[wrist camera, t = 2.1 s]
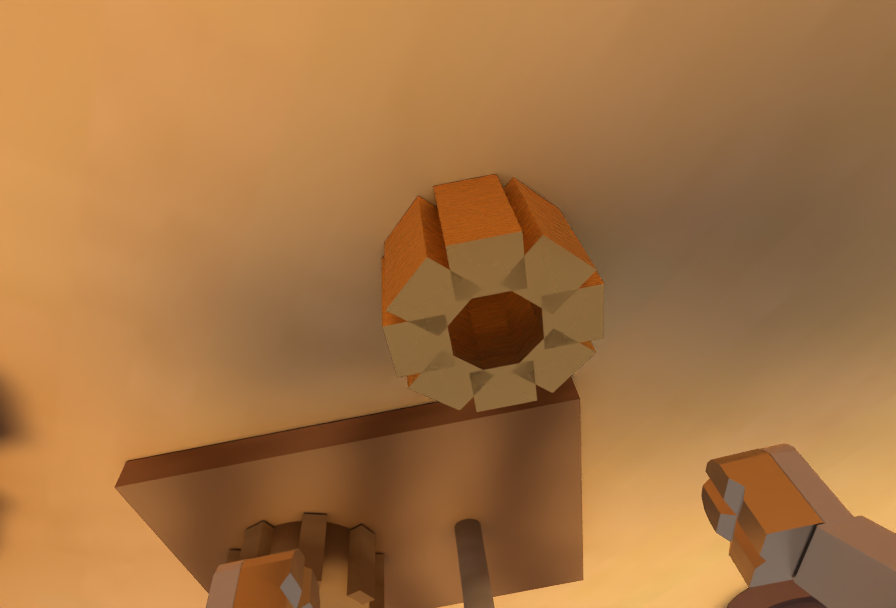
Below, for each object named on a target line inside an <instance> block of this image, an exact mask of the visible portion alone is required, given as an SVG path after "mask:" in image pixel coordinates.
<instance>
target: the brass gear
mask: <svg viewBox="0 0 896 608" xmlns="http://www.w3.org/2000/svg"><path fill="white" fill-rule="evenodd" d="M433 187H434V193H435V198H436V203H437V207H435V206H434V205H432V204H431V203H429V202H427V201H426V200H424V199H422V198H421V197H419V196H418V197H417V198H416V200H415V201H414V202H413V204H412V205H411V207H410V208H409V209H408V211H407V212H406V213H405V215H404V216H403V218H402V219H401V220H400V222H399V223H398V225H397V226H396V227H395V229H394V230H393V232H392V233H391V234H390V236H389V237H388V239H387V240H386V241H385V243H384V249H385V257H382V328H383V331H384V334H385V338H386V341H387V344H388V348H389V351H390V354H391V358H392V361H393V364H394V368H395V371H396V374H397V377H402V376H407V380H408V388H409V389H411V390H413V391H416V392H418V393H420V394H423V395H425V396H427V397H429V398H432V399H434V400H436V401H439V402H441V403H443V404H446V405H448V406H450V407H453V408H455V409H457V410H461V409H462V408H463V407H464V406H465V405H466V404H467V403H468V402H469V401H470V400H471V399H472V398H473V397H474V401H475V406H476V411H477V412H480V411H485V410H490V409H496V408H501V407H506V406H511V405H517V404H522V403H527V402H532V401H537V394H536V385H538V386H540V387H542V388H544V389H546V390H548V391H550V392H552V393H553V392H554V391H555V390H556V389H557V388H558V387H560V386H561V385H562V384H563V383H564V382H565V381H566V380H567V379H568V378H569V377H570V376H571V375H572V374H573V373H574V372H576V371H577V370H578V369H579V368H580V367H581V366H582V365H583V364H584V363H585V362H586V361H587V360H588V359H589V358H590V357H592V356H593V355H594V354H595V353H596V351H595V349H594V347H593V345H592V343H591V341H590V340H595V339H601V338H603V326H604V283H603V281H602V279H601V278H600V276H599V275H598V273H597V271H596V268H595V266H594V265H593V263H592V261H591V260H590V258H589V257H588V255H587V253H586V252H585V250H584V249H583V247H582V245H581V244H580V242H579V241H578V239H577V237H576V236H575V234H574V232H573V231H572V229H571V228H570V226H569V224H568V223H567V221H566V220H565V218H564V216H563V215H562V213H561V212H560V210H559V209H558V208H557V207H555V206H554V205H552V204H551V203H549V202H548V201H547V200H545V199H544V198H542V197H541V196H539V195H538V194H536V193H535V192H534V191H532V190H531V189H529V188H528V187H526V186H525V185H523V184H522V183H521V182H519V181H518V180H516V179H515V178H512V180H511V181H510V182H509V183H508V185H507V186H506V187H505V188H504V190H503V188H502V186H501V184H500V182H499V179H498V177H497V175H496V174H494V175H489V176H484V177H479V178H473V179H468V180H463V181H458V182H453V183H448V184H443V185H437V186H433Z"/></svg>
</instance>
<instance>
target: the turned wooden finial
mask: <svg viewBox="0 0 896 608" xmlns="http://www.w3.org/2000/svg"><path fill="white" fill-rule="evenodd" d="M727 608H827V607H826V606H825V605H823V604H822V603H821V602H819V601H818V600H817V599H816V598H814V597H813V596H812V595H810V594H809V593H808V592H806V591H805V590H804V589H802V588H801V587H800V586H798V585H797V584H796V583H794V579H792V580H787V581H782V582H777V583H771V584H766V585H761V586H755V587H751V588H749V589H747V590H745V591H744V592H742V593H741V594H739V595H738V596H736V597H735V598H734V599H733V600H732V601H731V602H730V603H729V605H728V607H727Z"/></svg>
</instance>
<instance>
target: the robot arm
mask: <svg viewBox="0 0 896 608" xmlns="http://www.w3.org/2000/svg"><path fill="white" fill-rule="evenodd" d="M706 473H707V474H708V476H709V477H710V479H709V480H708V481H707V482H706V483H705V484H704V485H703V488H702V500H703V505H704V510H705V512H706V514H707V517H708V519H709V521H710V523H711V525H712V526H713V528H714V530H715V531H716V533H718V534H719V535H721V536H722V537H724V538H726V539H727V540H729V541H730V549H729V555H730V557H731V558H732V560H733V562H734V563H735V565H736V567H737V568H738V570H739V572H740V573H741V575H742V577H743V578H744V580H745V582H746V583H747V585H748V587H749V588H750V587H755V586H761V585H766V584H771V583H777V582H782V581H787V580H792V579H794V583H796V584H797V585H798V586H800V587H801V588H802V589H804V590H805V591H806V592H808V593H809V594H810V595H812V596H813V597H814V598H816V599H817V600H818V601H819V602H821V603H822V604H823V605H825V606H826V607H827V608H896V534H895V533H894V532H892V531H890V530H888V529H886V528H884V527H882V526H880V525H878V524H877V523H875V522H873V521H871V520H869V519H867V518H865V517H863V516H856V517H853V515H852V514H851V513H850V512H849V511H848V510H847V508H846V507H845V506H844V505H843V504H842V503H841V501H840V500H839V499H838V498H837V497H836V496H835V494H834V493H833V492H832V491H831V490H830V489H829V487H828V486H827V485H826V484H825V483H824V482H823V480H822V479H821V478H820V477H819V476H818V475H817V473H816V472H815V471H814V470H813V469H812V468H811V466H810V465H809V464H808V463H807V462H806V461H805V459H804V458H803V457H802V456H801V455H800V454H799V452H798V451H797V450H796V449H795V448H794V447H792V446H791V445H789V444H779V445H775V446H770V447H766V448H761V449H754V450H750V451H746V452H742V453H737V454H733V455H729V456H725V457H720V458H716V459H712V460H710V461H709V462H708V463H707V467H706ZM304 561H305V557H304V555H303V554H302V552H301V551H300V549H294V550H289V551H284V552H280V553H275V554H270V555H266V556H261V557H256V558H251V559H244V560H240V561H235V562H231V563H226V564H222V565H219V566H218V568H217V570H216V572H215V574H214V575H213V579H212V583H211V587H210V592H209V596H208V600H207V604H206V608H320V595H319V586H318V582H317V579H316V576H315V574H314V572H313V570H312V569H310V568H307V567H305V566H304Z"/></svg>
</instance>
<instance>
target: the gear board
mask: <svg viewBox="0 0 896 608" xmlns="http://www.w3.org/2000/svg"><path fill="white" fill-rule="evenodd" d="M536 394H537V401H532V402H527V403H522V404H517V405H511V406H506V407H501V408H496V409H490V410H485V411H480V412H477V411H476V406H475V401H474V397H473V398H472V399H471V400H470V401H469V402H468V403H467V404H466V405H465V406H464V407H463V408H462V409H461V410H457V409H455V408H453V407H450V406H448V405H446V404H443V403H441V402H437V403H431V404H426V405H421V406H416V407H410V408H405V409H400V410H395V411H389V412H384V413H379V414H374V415H369V416H363V417H358V418H353V419H348V420H342V421H337V422H332V423H327V424H321V425H316V426H311V427H306V428H300V429H295V430H290V431H285V432H279V433H274V434H269V435H264V436H258V437H253V438H248V439H243V440H237V441H232V442H227V443H222V444H217V445H211V446H206V447H201V448H196V449H190V450H185V451H180V452H175V453H169V454H164V455H159V456H154V457H148V458H143V459H138V460H133V461H127V462H126V464H125V466H124V468H123V470H122V472H121V475H120V477H119V479H118V481H117V483H116V485H115V489H116V490H117V491H118V492H119V493H120V494H121V495H122V496H123V498H124V499H125V500H126V501H127V502H128V503H129V504H130V505H131V507H132V508H133V509H134V510H135V511H136V512H137V513H138V514H139V516H140V517H141V518H142V519H143V520H144V521H145V522H146V523H147V525H148V526H149V527H150V528H151V529H152V530H153V531H154V533H155V534H156V535H157V536H158V537H159V538H160V539H161V540H162V542H163V543H164V544H165V545H166V546H167V547H168V548H169V549H170V551H171V552H172V553H173V554H174V555H175V556H176V557H177V558H178V560H179V561H180V562H181V563H182V564H183V565H184V566H185V567H186V569H187V570H188V571H189V572H190V573H191V574H192V575H193V576H194V578H195V579H196V580H197V581H198V582H199V583H200V584H201V585H202V587H203V588H204V589H205V590H206V591H207V592H208V593H209V592H210V587H211V583H212V579H213V575H214V574H215V572H216V570H217V568H218V566H219V565H222V564H226V563H231V562H235V561H240V560H244V559H251V558H256V557H261V556H266V555H270V554H275V553H280V552H284V551H289V550H294V549H300V551H301V552H302V554H303V555H304V557H305V561H304V566H305V567H307V568H310V569H312V570H313V572H314V574H315V576H316V579H317V582H318V586H319V595H320V608H437V607H442V606H447V605H453V604H458V603H463V602H464V608H494V602H493V597H495V596H501V595H506V594H511V593H517V592H522V591H527V590H533V589H538V588H543V587H549V586H554V585H559V584H565V583H570V582H575V581H581V580H583V535H582V480H581V424H580V398H579V395H578V393H577V390H576V388H575V386H574V383H573V381H572V378H571V377H569V378H568V379H567V380H566V381H565V382H564V383H563V384H562V385H561V386H560V387H558V388H557V389H556V390H555V391H554V392H553V393H552V392H550V391H548V390H546V389H544V388H542V387H540V386H538V385H536Z"/></svg>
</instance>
